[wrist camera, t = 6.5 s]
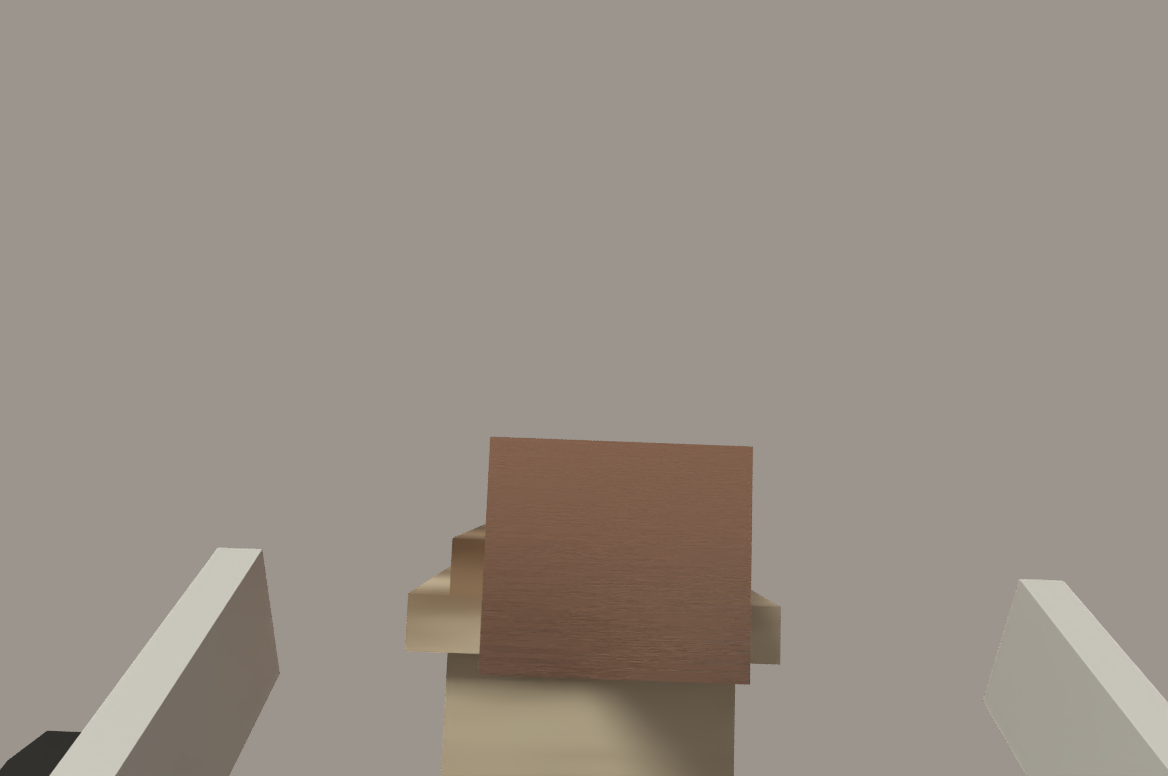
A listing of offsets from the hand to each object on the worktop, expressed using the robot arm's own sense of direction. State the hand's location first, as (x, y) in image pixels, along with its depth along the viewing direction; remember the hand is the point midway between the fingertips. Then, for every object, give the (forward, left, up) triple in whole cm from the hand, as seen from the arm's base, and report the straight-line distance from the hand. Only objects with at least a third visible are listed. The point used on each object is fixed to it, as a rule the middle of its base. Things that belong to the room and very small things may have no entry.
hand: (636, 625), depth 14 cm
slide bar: (-2, +7, 0) cm, 8 cm away
